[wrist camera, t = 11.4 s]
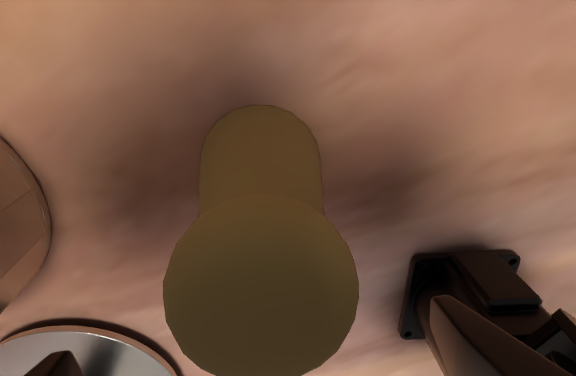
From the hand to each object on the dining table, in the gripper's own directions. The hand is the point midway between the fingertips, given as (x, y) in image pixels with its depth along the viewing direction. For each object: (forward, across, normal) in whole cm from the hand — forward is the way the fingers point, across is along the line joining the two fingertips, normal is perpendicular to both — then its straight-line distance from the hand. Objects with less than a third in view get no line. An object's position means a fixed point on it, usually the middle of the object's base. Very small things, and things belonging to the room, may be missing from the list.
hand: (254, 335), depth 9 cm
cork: (+11, 0, 0) cm, 11 cm away
